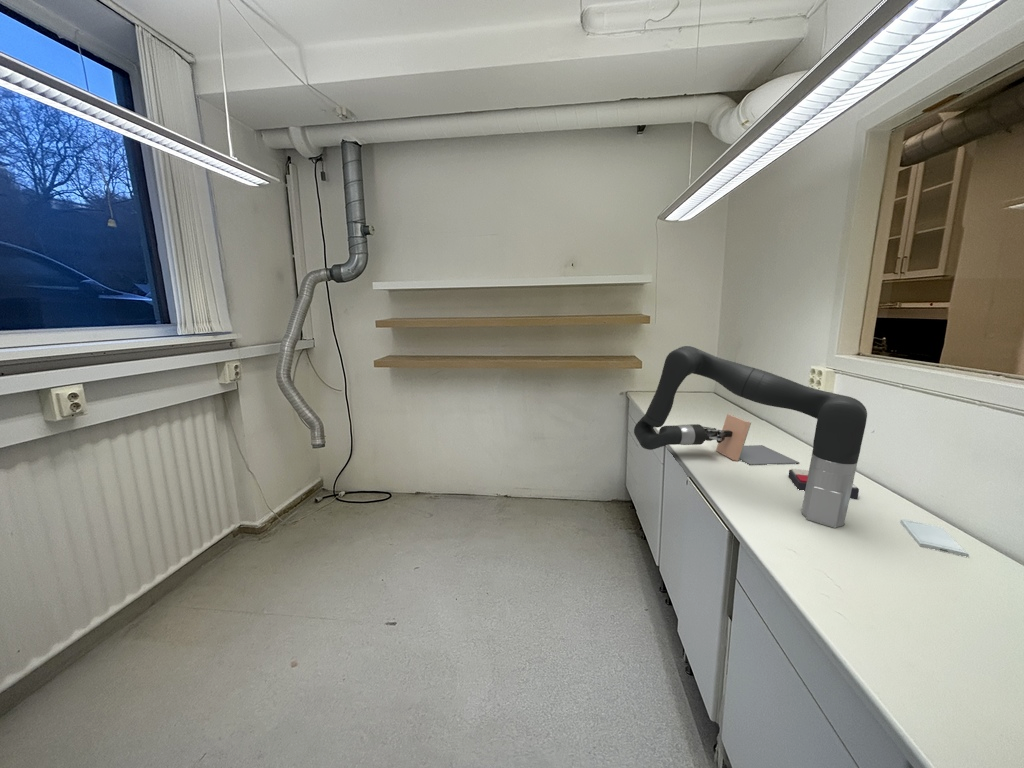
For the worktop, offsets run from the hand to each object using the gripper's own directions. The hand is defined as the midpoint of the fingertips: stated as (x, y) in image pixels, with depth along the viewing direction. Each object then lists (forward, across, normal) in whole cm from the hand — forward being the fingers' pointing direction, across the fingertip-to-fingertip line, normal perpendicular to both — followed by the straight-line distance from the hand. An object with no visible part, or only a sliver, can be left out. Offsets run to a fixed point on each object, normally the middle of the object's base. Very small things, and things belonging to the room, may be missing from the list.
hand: (730, 433), depth 146 cm
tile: (0, 0, +9) cm, 9 cm away
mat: (+12, 0, +9) cm, 15 cm away
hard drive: (+15, -55, +10) cm, 58 cm away
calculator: (+12, -27, +10) cm, 31 cm away
